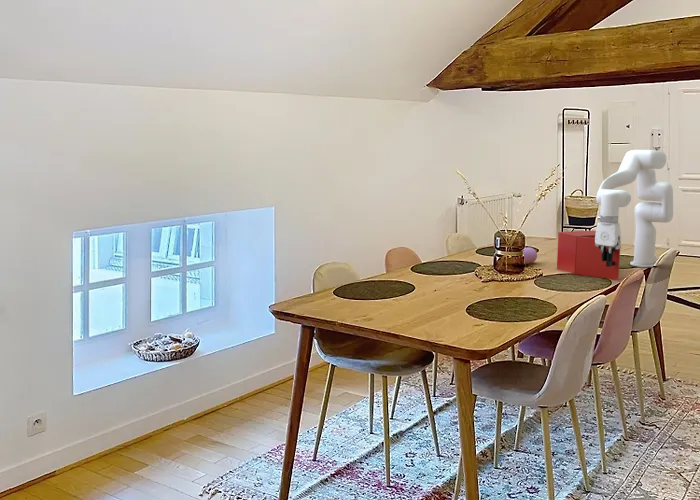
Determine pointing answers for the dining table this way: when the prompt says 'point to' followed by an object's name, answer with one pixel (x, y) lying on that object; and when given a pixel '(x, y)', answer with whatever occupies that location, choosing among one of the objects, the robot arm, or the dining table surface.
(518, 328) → the dining table surface
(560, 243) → the cabinet
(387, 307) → the dining table surface
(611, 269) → the door
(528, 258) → the toy
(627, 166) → the robot arm
